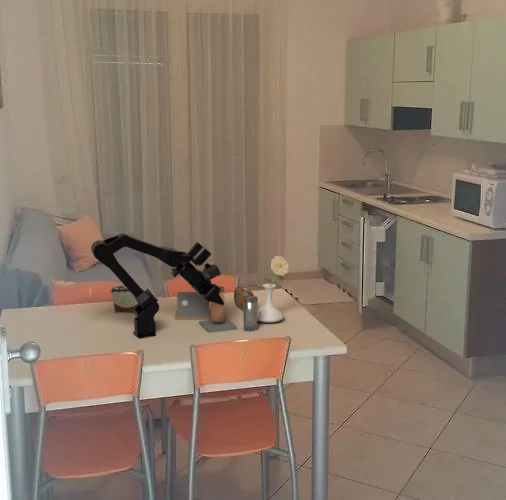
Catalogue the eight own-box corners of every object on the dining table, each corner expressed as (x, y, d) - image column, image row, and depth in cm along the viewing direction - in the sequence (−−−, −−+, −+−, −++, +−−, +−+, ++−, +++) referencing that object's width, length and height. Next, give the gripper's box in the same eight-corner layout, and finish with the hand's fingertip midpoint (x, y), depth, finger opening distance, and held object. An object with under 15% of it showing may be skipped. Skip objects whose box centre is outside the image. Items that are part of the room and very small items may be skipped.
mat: (208, 332, 247) (208, 330, 247) (199, 323, 257) (199, 321, 257) (237, 329, 251) (237, 326, 251) (227, 320, 261) (227, 318, 261)
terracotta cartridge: (217, 322, 250) (217, 290, 247) (207, 319, 253) (207, 288, 251) (227, 319, 254) (227, 288, 251) (217, 316, 257) (217, 285, 254)
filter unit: (174, 319, 262) (174, 296, 260) (176, 313, 270) (175, 290, 268) (211, 319, 262) (211, 296, 260) (211, 313, 270) (211, 290, 268)
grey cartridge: (247, 332, 248) (247, 300, 245) (241, 328, 252) (241, 296, 249) (259, 330, 250) (259, 298, 247) (253, 326, 254) (253, 295, 252)
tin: (233, 304, 282) (233, 284, 280) (240, 303, 283) (240, 283, 282) (248, 314, 269) (248, 293, 267) (255, 313, 270) (256, 292, 268)
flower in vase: (258, 326, 254) (259, 260, 249) (250, 317, 265) (250, 253, 260) (292, 323, 258) (293, 258, 253) (282, 314, 269) (283, 251, 263)
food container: (145, 309, 275) (145, 284, 273) (141, 313, 269) (141, 288, 267) (115, 308, 276) (114, 283, 274) (110, 312, 270) (110, 287, 268)
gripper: (215, 264, 239) (244, 292, 245) (199, 253, 256) (227, 279, 262) (193, 287, 238) (223, 315, 244) (179, 275, 255) (207, 301, 261)
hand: (221, 302), depth 253 cm, fingers closed on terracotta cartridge, 5 cm apart
